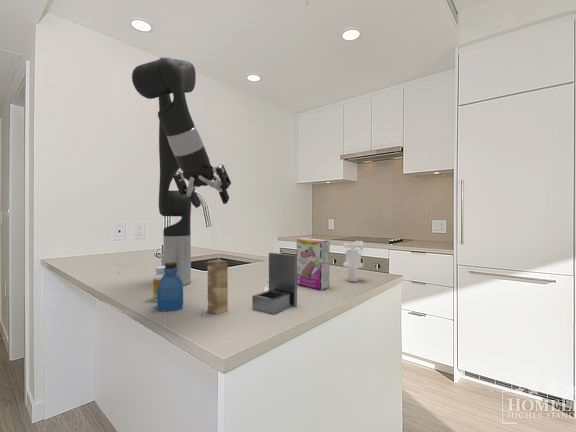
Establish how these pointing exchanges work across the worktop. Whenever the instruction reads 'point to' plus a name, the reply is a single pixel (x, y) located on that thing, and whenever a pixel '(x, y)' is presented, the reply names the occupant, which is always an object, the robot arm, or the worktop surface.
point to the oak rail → (217, 286)
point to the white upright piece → (353, 259)
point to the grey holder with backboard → (279, 285)
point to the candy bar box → (313, 263)
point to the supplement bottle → (157, 280)
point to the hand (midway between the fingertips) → (212, 204)
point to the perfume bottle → (170, 289)
